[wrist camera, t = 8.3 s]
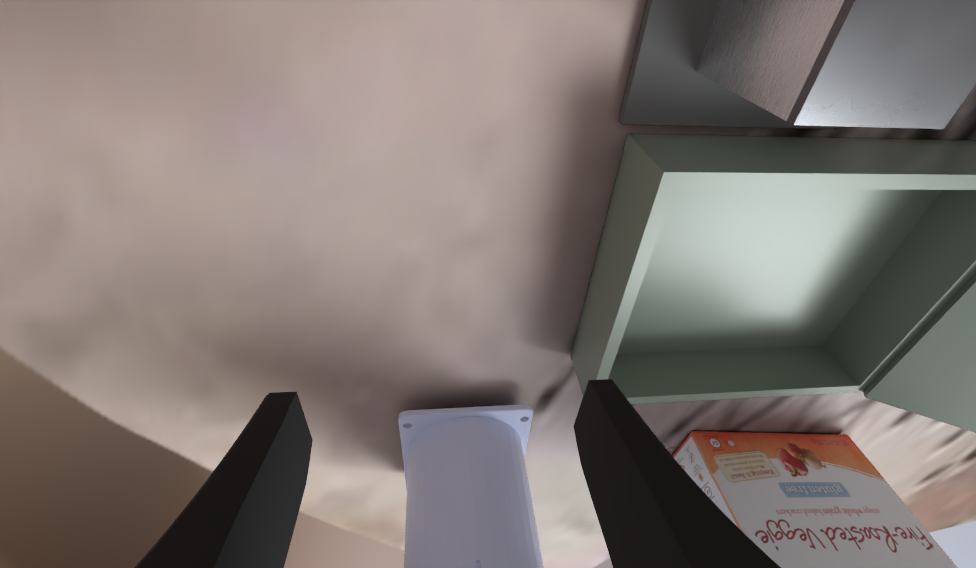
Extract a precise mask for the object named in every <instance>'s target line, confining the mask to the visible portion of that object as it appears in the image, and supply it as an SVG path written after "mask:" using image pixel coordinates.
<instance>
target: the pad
mask: <svg viewBox="0 0 976 568" xmlns="http://www.w3.org/2000/svg"><path fill="white" fill-rule="evenodd" d="M718 2H719V0H647V4H646V8H645V12H644V16H643V20H642V25H641V29H640V33H639V37H638V41H637V46H636V50H635V54H634V58H633V62H632V66H631V71H630V75H629V79H628V83H627V87H626V91H625V96H624V100H623V104H622V108H621V112H620V117H619V122H620V123H621V124H632V125H678V126H723V127H769V128H815V129H836V128H837V126H805V125H792V124H791V123H789V122H787V121H785V120H783V119H781V118H780V117H778V116H776V115H774V114H772V113H771V112H769V111H767V110H765V109H763V108H761V107H760V106H758V105H756V104H754V103H752V102H751V101H749V100H747V99H745V98H743V97H741V96H740V95H738V94H736V93H734V92H732V91H731V90H729V89H727V88H725V87H723V86H721V85H720V84H718V83H716V82H714V81H712V80H711V79H709V78H707V77H705V76H703V75H701V74H700V73H698V72H696V69H697V66H698V63H699V60H700V57H701V54H702V51H703V48H704V44H705V41H706V38H707V35H708V32H709V29H710V26H711V23H712V20H713V17H714V14H715V11H716V8H717V5H718Z"/></svg>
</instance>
